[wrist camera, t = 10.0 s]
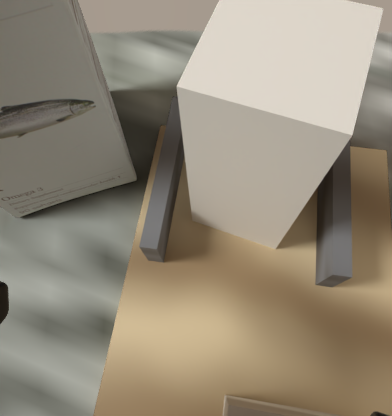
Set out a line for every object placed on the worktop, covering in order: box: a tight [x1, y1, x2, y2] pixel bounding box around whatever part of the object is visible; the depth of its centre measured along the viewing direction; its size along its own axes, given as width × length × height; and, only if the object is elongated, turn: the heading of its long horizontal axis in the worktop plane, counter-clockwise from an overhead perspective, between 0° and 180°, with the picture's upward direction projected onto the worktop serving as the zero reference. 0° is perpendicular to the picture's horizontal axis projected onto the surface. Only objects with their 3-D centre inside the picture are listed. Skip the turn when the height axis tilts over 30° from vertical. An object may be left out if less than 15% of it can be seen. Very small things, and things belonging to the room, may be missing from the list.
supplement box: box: [0, 0, 137, 218], centre depth 15 cm, size 7×7×13 cm
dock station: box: [93, 96, 392, 416], centre depth 16 cm, size 19×13×4 cm
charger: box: [176, 0, 383, 249], centre depth 14 cm, size 5×4×10 cm
